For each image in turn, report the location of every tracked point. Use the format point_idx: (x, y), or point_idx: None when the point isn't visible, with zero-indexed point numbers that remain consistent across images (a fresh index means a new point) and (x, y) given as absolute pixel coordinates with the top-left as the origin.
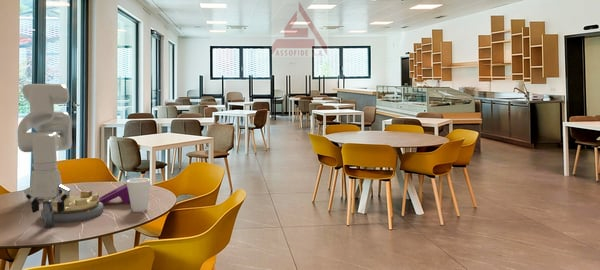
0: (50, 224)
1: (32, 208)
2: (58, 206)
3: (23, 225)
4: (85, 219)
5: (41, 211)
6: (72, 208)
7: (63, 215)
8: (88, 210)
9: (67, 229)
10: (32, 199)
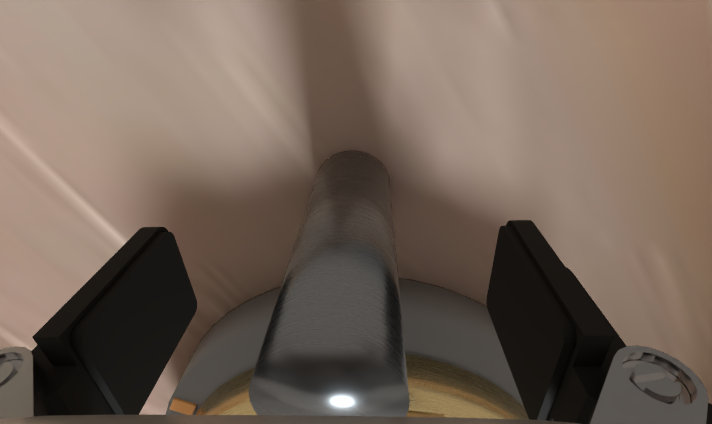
0: (319, 174)
1: (546, 251)
2: (98, 280)
3: (604, 209)
4: (203, 337)
5: None
6: (242, 402)
7: None
8: (191, 414)
9: (140, 127)
10: (634, 401)
